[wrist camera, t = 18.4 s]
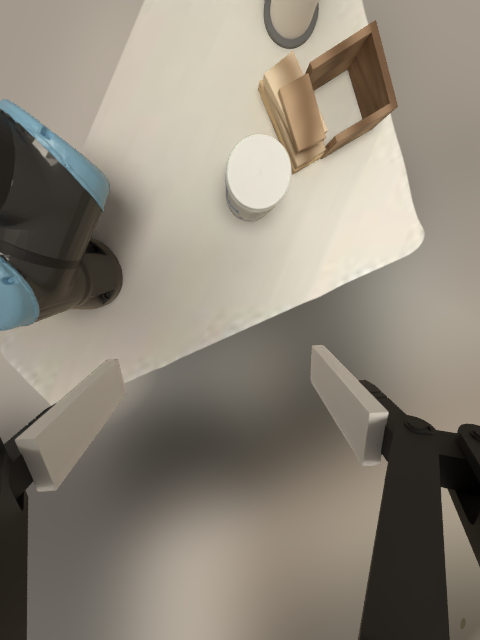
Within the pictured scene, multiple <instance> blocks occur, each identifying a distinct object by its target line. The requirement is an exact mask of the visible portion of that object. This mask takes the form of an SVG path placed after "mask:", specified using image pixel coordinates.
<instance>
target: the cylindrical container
mask: <svg viewBox="0 0 480 640" xmlns="http://www.w3.org/2000/svg"><path fill="white" fill-rule="evenodd" d="M317 3H318V0H271V6H270V16H271V21H272V24H273V26H274V28H275V30H276V31H277V33H278V34H279V35H281V36H282V37H284V38H287V39H295V38H298V37H300V36H301V35H302V34H304V32H305V31H306V30H307V29H308V27H309V25H310V22H311V20H312V17H313V14H314V11H315V8H316V5H317Z"/></svg>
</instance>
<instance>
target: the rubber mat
mask: <svg viewBox="0 0 480 640" xmlns="http://www.w3.org/2000/svg"><path fill="white" fill-rule="evenodd" d="M270 6H271V0H265V5H264V21H265V26H266V29H267V32H268V34H269V36H270V37H271V39H272V40H273V41H274V42H275V43H276V44H277V45H279V46H281V47H283V48H288V49H291V48H296V47H298V46H300V45H302V44H303V43H304V42H306V41H307V39H308V38H309V37H310V35H311V34H312V32H313V30H314V27H315V25H316V21H317V17H318V9H319V8H318V3H317V5H316V8H315V11H314V14H313V17H312V20H311V22H310V25H309V27H308V29H307V30H306V31H305V32H304V34H302V35H301V36H300V37H298V38H295V39H287V38H284V37H282V36H281V35H279V34H278V33H277V31H276V30H275V28H274V26H273V24H272V21H271V16H270Z"/></svg>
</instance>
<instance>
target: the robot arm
mask: <svg viewBox="0 0 480 640" xmlns="http://www.w3.org/2000/svg"><path fill="white" fill-rule="evenodd" d="M109 190H110V185H109V182H108V179H107V178H106V176H105V175H104V174H103V172H102V171H101V170H99V169H98V168H97V167H96V166H95V165H94V164H93V163H91V162H90V161H89V160H88V159H87V158H86V157H84V156H83V155H82V154H81V153H79V152H78V151H77V150H76V149H74V148H73V147H72V146H71V145H69V144H68V143H67V142H66V141H64V140H63V139H62V138H60V137H59V136H58V135H56V134H55V133H53V132H51V131H50V130H49V129H48V128H47V127H45V126H44V125H43V124H41V123H40V122H39V121H38V120H37V119H35V118H34V117H33V116H31V115H30V114H29V113H27V112H26V111H25V110H23V109H21V108H20V107H19V106H17V105H16V104H14V103H13V102H11V101H9V100H7V99H2V100H1V101H0V331H3V330H9V329H13V328H16V327H20V326H28V325H31V324H33V323H34V322H37V321H39V320H42V319H45V318H47V317H50V316H52V315H55V314H58V313H60V312H63V311H66V310H68V309H71V308H73V309H95V308H99V307H102V306H104V305H106V304H108V303H110V302H111V301H113V300H114V299H115V298H116V296H117V295H118V293H119V292H120V289H121V286H122V271H121V267H120V264H119V262H118V260H117V258H116V257H115V255H114V254H113V253H112V251H111V250H110V249H109V248H108V247H106V246H105V245H104V244H102V243H101V242H99V241H97V240H95V239H93V238H91V236H92V233H93V231H94V229H95V226H96V224H97V221H98V219H99V216H100V214H101V212H104V205H105V202H106V199H107V196H108V194H109ZM311 383H312V384H313V386H314V387H315V389H316V391H317V392H318V394H319V396H320V397H321V399H322V400H323V402H324V404H325V405H326V407H327V409H328V410H329V412H330V414H331V415H332V417H333V418H334V420H335V422H336V424H337V425H338V427H339V428H340V430H341V432H342V433H343V435H344V437H345V438H346V440H347V442H348V443H349V445H350V447H351V448H352V450H353V451H354V453H355V455H356V456H357V458H358V459H359V461H360V463H361V465H362V466H368V465H380V460H381V454H382V455H383V456H384V457H385V459H386V460H387V461H388V466H387V471H386V477H385V483H384V489H383V495H382V501H381V507H380V513H379V519H378V525H377V530H376V536H375V542H374V548H373V554H372V560H371V566H370V572H369V578H368V583H367V590H366V595H365V601H364V607H363V613H362V619H361V625H360V631H359V636H358V640H449V622H448V605H447V587H446V572H445V555H444V537H443V520H442V503H441V487H444V488H447V489H448V491H449V493H450V496H451V498H452V501H453V503H454V506H455V508H456V510H457V513H458V515H459V518H460V520H461V522H462V525H463V527H464V529H465V532H466V535H467V537H468V539H469V542H470V544H471V547H472V549H473V552H474V554H475V556H476V559H477V561H478V563H479V566H480V426H478V425H474V424H463V425H461V426H460V427H459V429H458V432H457V433H451V432H445V431H439V430H436V429H435V428H433V426H431V424H429V423H427V422H426V421H424V420H422V419H420V418H417V417H414V416H409V415H406V414H405V413H404V412H403V411H402V410H401V409H399V407H397V406H396V405H395V404H394V403H393V402H392V401H391V400H390V399H389V398H387V396H386V395H385V394H383V393H381V391H380V390H379V389H378V388H377V387H376V386H375V385H373V384H371V383H370V382H368V381H366V380H359V381H358V380H357V379H356V378H355V377H354V376H353V375H352V374H351V373H350V372H349V371H348V370H347V369H346V368H345V367H344V366H343V365H342V364H341V363H340V362H339V361H338V360H337V359H336V358H335V357H334V356H333V355H332V354H331V353H330V352H329V351H328V349H326V347H324V346H323V345H317V346H312V359H311ZM125 396H126V390H125V387H124V382H123V378H122V374H121V370H120V366H119V362H118V359H114V360H106V361H105V362H104V363H102V364H101V365H100V366H99V367H98V368H97V369H96V370H94V371H93V372H92V373H91V374H90V375H89V376H87V377H86V378H85V379H84V380H83V381H82V382H81V383H79V384H78V385H77V386H76V387H75V388H74V389H73V390H71V391H70V392H69V393H68V394H67V395H66V396H64V397H63V398H62V399H61V400H60V401H59V402H58V403H55V404H54V405H52V406H50V407H49V408H47V409H45V410H44V411H43V412H42V413H40V414H39V415H38V416H37V417H36V419H33V420H32V421H31V422H30V423H29V424H28V425H27V426H25V427H24V428H23V429H22V430H20V431H19V432H18V433H17V434H16V435H14V436H13V437H12V438H11V439H10V440H9V441H7V442H6V443H5V444H3V442H2V440H1V438H0V640H27V556H28V555H27V554H28V495H27V493H26V491H25V490H26V489H27V488H28V486H29V485H30V484H31V483H32V482H34V485H35V487H36V489H37V491H38V492H41V491H54V490H57V488H58V487H59V486H60V484H61V483H62V482H63V480H64V479H65V478H66V476H67V475H68V473H69V472H70V471H71V469H72V468H73V466H74V465H75V464H76V462H77V461H78V460H79V458H80V457H81V456H82V454H83V453H84V451H85V450H86V449H87V447H88V446H89V445H90V443H91V442H92V441H93V439H94V438H95V437H96V435H97V434H98V433H99V431H100V430H101V428H102V427H103V426H104V424H105V423H106V422H107V420H108V419H109V417H110V416H111V415H112V413H113V412H114V411H115V409H116V408H117V407H118V405H119V404H120V403H121V401H122V400H123V398H124V397H125Z"/></svg>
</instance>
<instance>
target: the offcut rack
mask: <svg viewBox="0 0 480 640" xmlns="http://www.w3.org/2000/svg"><path fill="white" fill-rule="evenodd" d="M347 69H348V71H349V75H350V78H351V81H352V85H353V88H354V91H355V95H356V98H357V101H358V105H359V108H360V112H361V115H362V118H363V120H361V121H359V122H358V123H356V124H354V125H353V126H351V127H349V128H348V129H346V130H344V131H343V132H341V133H339V134H338V135H336V136H335V137H334V138H333V139H332V140H331V141H330V142H329V143H328V144H327V146H326V147H325V145H324V142H323V140H324V139H325V138H326V135H325V133H326V132H327V128H326V125H325V123H324V121H323V118H322V116H321V114H320V112H319V109H318V106H317V103H316V99H315V95H314V92H313V91H314V90H316V89H317V88H319V87H320V86H322V85H324V84H325V83H327V82H328V81H330V80H332V79H333V78H335V77H336V76H338V75H339V74H341V73H343V72H344V71H346V70H347ZM258 90H259V92H260V95H261V97H262V100H263V102H264V105H265V107H266V110H267V112H268V115H269V117H270V119H271V122H272V124H273V127H274V129H275V132H276V134H277V137H278V139H279V142H280V143H281V144H282V145H283V146H284V148H285V149H286V151H287V153H288V155H289V158H290V162H291V170H292V174H294V173H296V172H297V171H299V170H301V169H302V168H304V167H306V166H308V165H309V164H311V163H313V162H314V161H316V160H318V159H319V158H321V159H322V158H324V157H326V156H327V155H329V154H331V153H332V152H334V151H336V150H337V149H339V148H341V147H343V146H344V145H346V144H348V143H349V142H351V141H353V140H354V139H356V138H358V137H359V136H361V135H363V134H365V133H366V132H368V131H370V130H371V129H373V128H374V127H375V126H376V125H377V124H378V123H379V122H381V121H382V120H383V119H384V118H385V117H386V116H388V115H389V114H390V113H391V112H392V111H393V110H394V109H395V108H397V107H398V106H397V101H396V97H395V93H394V90H393V86H392V82H391V78H390V74H389V70H388V66H387V62H386V58H385V54H384V51H383V46H382V43H381V39H380V35H379V31H378V27H377V23H376V21H374V22H372V23H370V24H369V25H367V26H366V27H364V28H363V29H361V30H360V31H358V32H356V33H355V34H353V35H352V36H350V37H349V38H347V39H346V40H344V41H342V42H341V43H339V44H338V45H336V46H335V47H333V48H332V49H330V50H329V51H327V52H325V53H324V54H322V55H321V56H319V57H318V58H316V59H315V60H313V61H311V62H310V64H309V66H308V69H307V71H306V74H305V75H303V73H302V70H301V68H300V66H299V64H298V61H297V59H296V57H295V54H294V52H293V51H292V52H291V53H290V54H289V55H287V56H286V57H285V58H284V59H282V60H281V61H280V62H279V63H277V64H276V65H275V66H274V67H272V68H271V69H270V70H269V71H267V72H266V73H265V74H264V78H263V80H261V81H260V83H259V89H258Z"/></svg>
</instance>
